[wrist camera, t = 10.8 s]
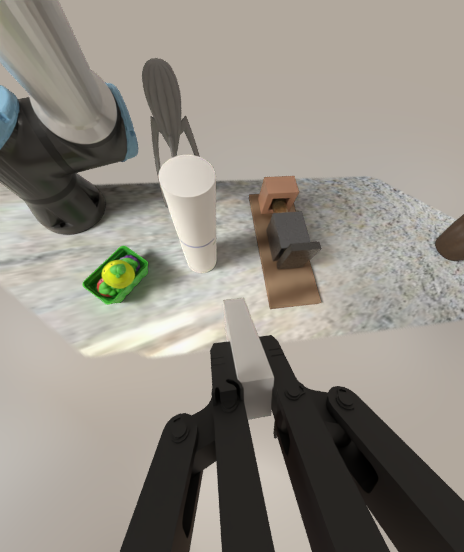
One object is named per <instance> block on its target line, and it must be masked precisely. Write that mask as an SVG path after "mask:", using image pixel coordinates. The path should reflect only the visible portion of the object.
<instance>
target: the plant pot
mask: <svg viewBox="0 0 464 552" xmlns="http://www.w3.org/2000/svg"><path fill="white" fill-rule="evenodd" d="M435 246H436V249H437V251H438V252H439V253H440V254H441V255H442V256H443V257H444V258H446V259H448V260H452V261H458V260H464V214H463V215H462V216H461V217H460V218H459V219H457V220H456V221H455V222H454V223H453V224H452V225H451V226H450V227H448V228H447V229H446V230H445V231H444V232H443V233H442V234H441V235H440V236H439V238H438V239H437V240H436V242H435Z"/></svg>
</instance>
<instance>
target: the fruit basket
mask: <svg viewBox="0 0 464 552" xmlns="http://www.w3.org/2000/svg"><path fill="white" fill-rule="evenodd" d="M147 274H148V262H147V261H146V260H145V259H143V258H142V257H141V256H139V255H138V254H136V253H135V252H133V251H132V250H131V249H129V248H128V247H126V246H121V247H119V248H118V249H117V250H116V251H115V252H114V253H113V254H112V255H111V256H110V257H109V258H108V259H107V260H106V261H105V262H104V263H103V264H102V265H100V266H99V267H98V268H97V269H96V270H95V271H94V272H93V273H92V274H91V275H90V276H89V277H88V278H87V279H86V280H85V281H84V282H83V287H84V288H85V289H87V290H88V291H90V292H91V293H92V294H94V295H95V296H96V297H97V298H99V299H100V300H101V301H102V302H104V303H105V304H107V305H108V304H113V303H121V302H122V301H123V299H124V298H125V297H126V295H128V294H129V293H130V292H131V291H132V290H133V288H134V287H135V286H136V285H137V284H138V283H139V282H140V281H141V279H142V278H144V277H145V276H146V275H147Z"/></svg>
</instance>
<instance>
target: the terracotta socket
mask: <svg viewBox="0 0 464 552" xmlns="http://www.w3.org/2000/svg"><path fill="white" fill-rule="evenodd" d="M298 193H299V190H298V187H297V183H296V180H295V177H294V176H282V177H264V180H263V183H262V187H261V191H260V194H259V198H258V201H259V206H260V210H261V214H271V213H273V208H272V204H271V202H272V199H279V198H285V202H286V206H287V210H288V212H289V210H290V209H291V207H292V205H293V203H294V201H295V199H296V197H297V195H298Z"/></svg>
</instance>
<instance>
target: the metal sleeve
mask: <svg viewBox="0 0 464 552" xmlns="http://www.w3.org/2000/svg"><path fill="white" fill-rule="evenodd" d="M266 232H267V237H268V242H269V246H270V251H271V256H272V260H273V261H278V260H279V259H280V257H281V256H282V255H283V252H284V251H285V250H286V249H287V247H288V246H289V245H290V244H294V243H307V242H310V239H309V235H308V232H307V228H306V225H305V221H304V218H303V215H302V211H300V212H283V213H273V215H272V217H271V220H270V222H269V224H268V227H267V229H266Z"/></svg>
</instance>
